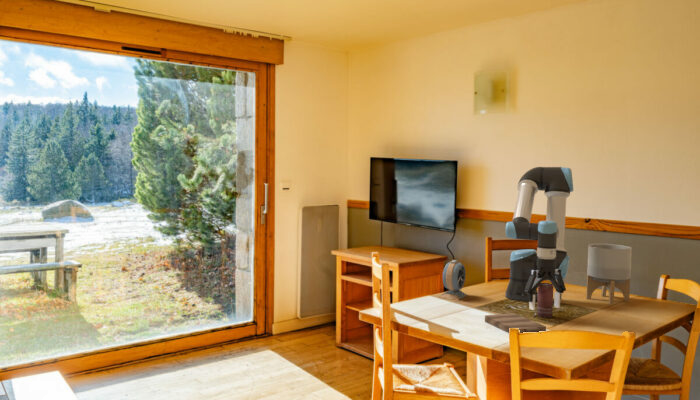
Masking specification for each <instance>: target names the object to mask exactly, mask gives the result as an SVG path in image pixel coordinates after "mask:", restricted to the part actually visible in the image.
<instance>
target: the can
mask: <svg viewBox="0 0 700 400" xmlns="http://www.w3.org/2000/svg"><path fill="white" fill-rule="evenodd" d="M537 293H538V299H537V300H536V301H537V303H536V304H537V305H536V315H537V317H539V318H542V319H543V318H544V319H551V318H552V317H553V310H554V309H553V307H554V286H553V284H552V283H550V282H541V283H540V285H539V286H538V288H537Z"/></svg>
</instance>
